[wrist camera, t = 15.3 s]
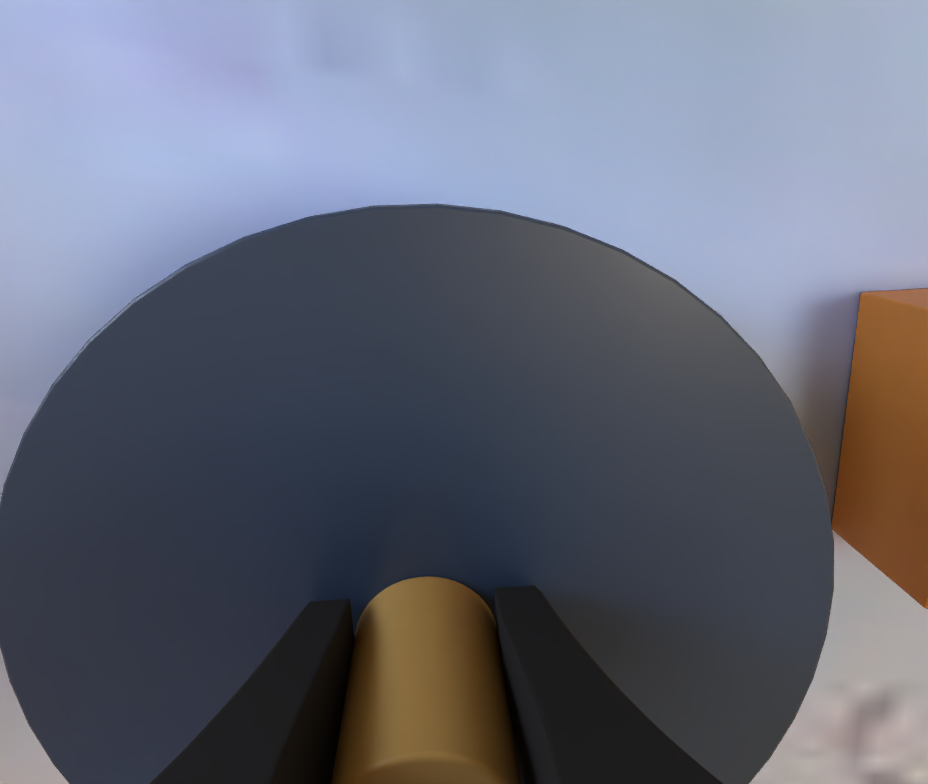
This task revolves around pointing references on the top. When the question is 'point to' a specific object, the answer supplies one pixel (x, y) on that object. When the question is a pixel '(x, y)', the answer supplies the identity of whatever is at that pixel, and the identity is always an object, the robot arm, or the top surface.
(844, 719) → the top surface
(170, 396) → the tin lid
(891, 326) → the soap
